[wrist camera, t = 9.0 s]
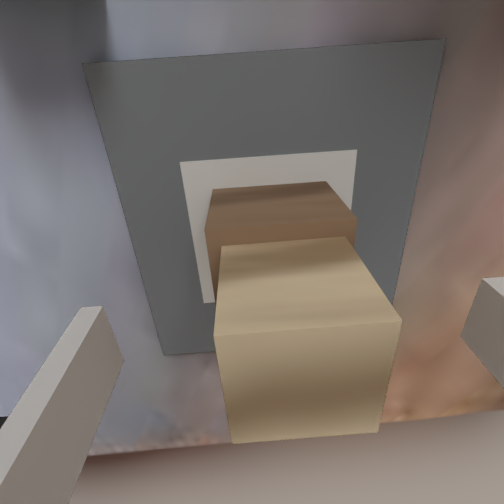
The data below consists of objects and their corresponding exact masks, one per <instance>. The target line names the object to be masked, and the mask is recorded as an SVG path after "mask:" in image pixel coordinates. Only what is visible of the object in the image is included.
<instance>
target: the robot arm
mask: <svg viewBox="0 0 504 504" xmlns="http://www.w3.org/2000/svg"><path fill="white" fill-rule="evenodd" d="M460 337H461V338H462V339H463V340H464V341H465V343H466V344H467V345H468V346H469V347H470V349H471V350H472V351H473V352H474V353H475V355H476V356H477V357H478V358H479V359H480V361H481V362H482V363H483V364H484V365H485V367H486V368H487V369H488V370H489V371H490V373H491V374H492V375H493V376H494V377H495V379H496V380H497V381H498V382H499V383H500V385H501V386H502V387H503V388H504V277H495V278H482V280H481V283H480V285H479V288H478V291H477V293H476V296H475V299H474V301H473V304H472V307H471V309H470V312H469V315H468V317H467V320H466V322H465V325H464V328H463V330H462V333H461V336H460ZM123 362H124V360H123V357H122V354H121V352H120V349H119V347H118V344H117V341H116V339H115V336H114V334H113V331H112V329H111V326H110V323H109V321H108V318H107V316H106V313H105V310H104V308H103V306H94V307H80V309H79V311H78V312H77V314H76V315H75V317H74V318H73V320H72V321H71V323H70V324H69V326H68V327H67V329H66V330H65V332H64V333H63V335H62V336H61V338H60V339H59V341H58V342H57V344H56V345H55V347H54V348H53V350H52V351H51V353H50V354H49V356H48V357H47V359H46V361H45V362H44V364H43V365H42V367H41V368H40V370H39V371H38V373H37V374H36V376H35V377H34V379H33V380H32V382H31V383H30V385H29V386H28V388H27V389H26V391H25V392H24V394H23V395H22V397H21V398H20V400H19V401H18V403H17V404H16V406H15V408H14V409H13V411H12V412H11V414H10V415H9V416H7V417H0V504H68V503H69V500H70V498H71V496H72V493H73V491H74V488H75V485H76V483H77V480H78V478H79V475H80V473H81V470H82V468H83V465H84V462H85V460H86V457H87V455H88V452H89V450H90V447H91V444H92V442H93V439H94V437H95V434H96V432H97V429H98V426H99V424H100V421H101V419H102V416H103V414H104V411H105V408H106V406H107V403H108V401H109V398H110V396H111V393H112V390H113V388H114V385H115V383H116V380H117V378H118V375H119V373H120V370H121V367H122V365H123Z"/></svg>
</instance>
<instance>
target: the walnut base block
mask: <svg viewBox="0 0 504 504" xmlns="http://www.w3.org/2000/svg"><path fill="white" fill-rule="evenodd" d="M356 228H357V217H356V216H355V215H354V214H353V213H352V211H351V210H350V209H349V208H348V207H347V205H346V204H345V203H344V202H343V201H342V200H341V198H340V197H339V196H338V195H337V194H336V192H335V191H334V190H333V189H332V188H331V186H330V185H329V184H328V183H327V182H326V181H320V182H306V183H292V184H278V185H264V186H250V187H236V188H222V189H213V191H212V196H211V200H210V205H209V210H208V214H207V219H206V224H205V229H204V231H205V238H206V245H207V251H208V258H209V265H210V272H211V278H212V285H213V292H214V298H215V305H216V302H217V291H218V280H219V269H220V258H221V247H222V246H229V245H242V244H254V243H267V242H280V241H293V240H306V239H318V238H331V237H344V236H346V238H347V239H348V241H349V242H350V244H351V245H352V247H353V248H354V245H355V237H356Z"/></svg>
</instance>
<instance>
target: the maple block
mask: <svg viewBox="0 0 504 504" xmlns="http://www.w3.org/2000/svg"><path fill="white" fill-rule="evenodd" d="M402 322H403V321H402V319H401V318H400V317H399V315H398V314H397V312H396V311H395V309H394V308H393V306H392V305H391V303H390V302H389V300H388V299H387V297H386V296H385V294H384V293H383V291H382V290H381V288H380V287H379V285H378V284H377V282H376V281H375V279H374V278H373V276H372V275H371V273H370V272H369V271H368V269H367V268H366V266H365V265H364V263H363V262H362V260H361V259H360V257H359V256H358V254H357V253H356V251H355V250H354V248H353V247H352V245H351V244H350V242H349V241H348V239H347V238H346V236H344V237H331V238H318V239H306V240H293V241H280V242H267V243H254V244H242V245H229V246H222V247H221V258H220V269H219V280H218V291H217V302H216V313H215V324H214V335H213V336H214V342H215V348H216V354H217V360H218V366H219V371H220V377H221V383H222V389H223V395H224V401H225V406H226V412H227V418H228V424H229V430H230V435H231V441H232V444H237V443H250V442H262V441H275V440H286V439H300V438H312V437H324V436H336V435H348V434H361V433H374V432H378V429H379V424H380V420H381V415H382V411H383V406H384V402H385V398H386V393H387V389H388V384H389V380H390V375H391V371H392V366H393V362H394V357H395V353H396V348H397V344H398V340H399V335H400V331H401V326H402Z"/></svg>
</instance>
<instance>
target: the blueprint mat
mask: <svg viewBox="0 0 504 504" xmlns="http://www.w3.org/2000/svg"><path fill="white" fill-rule="evenodd" d="M445 43H446V38H445V39H431V40H416V41H402V42H387V43H373V44H358V45H343V46H329V47H314V48H300V49H285V50H271V51H256V52H242V53H227V54H213V55H198V56H183V57H169V58H154V59H140V60H125V61H111V62H96V63H82V66H83V69H84V73H85V76H86V80H87V84H88V87H89V91H90V94H91V98H92V101H93V105H94V109H95V112H96V116H97V119H98V123H99V126H100V130H101V133H102V137H103V141H104V144H105V148H106V151H107V155H108V158H109V162H110V165H111V169H112V173H113V176H114V180H115V183H116V187H117V190H118V194H119V198H120V201H121V205H122V208H123V212H124V215H125V219H126V222H127V226H128V230H129V233H130V237H131V240H132V244H133V247H134V251H135V255H136V258H137V262H138V265H139V269H140V272H141V276H142V279H143V283H144V287H145V290H146V294H147V297H148V301H149V304H150V308H151V312H152V315H153V319H154V322H155V326H156V329H157V333H158V336H159V340H160V344H161V347H162V351H163V354H164V355H175V354H188V353H201V352H215V351H216V348H215V342H214V336H213V335H214V324H215V313H216V305H215V298H214V292H213V285H212V278H211V272H210V265H209V258H208V251H207V245H206V238H205V231H204V229H205V224H206V219H207V214H208V210H209V205H210V200H211V196H212V191H213V189H222V188H236V187H250V186H264V185H278V184H292V183H306V182H320V181H326V182H327V183H328V184H329V185H330V186H331V188H332V189H333V190H334V191H335V192H336V194H337V195H338V196H339V197H340V198H341V200H342V201H343V202H344V203H345V204H346V205H347V207H348V208H349V209H350V210H351V211H352V213H353V214H354V215H355V216H356V217H357V228H356V237H355V245H354V250H355V251H356V253H357V254H358V256H359V257H360V259H361V260H362V262H363V263H364V265H365V266H366V268H367V269H368V271H369V272H370V273H371V275H372V276H373V278H374V279H375V281H376V282H377V284H378V285H379V287H380V288H381V290H382V291H383V293H384V294H385V296H386V297H387V299H388V300H389V302H390V303H391V305H392V304H393V299H394V294H395V289H396V284H397V279H398V274H399V269H400V264H401V260H402V255H403V250H404V245H405V240H406V235H407V230H408V225H409V220H410V215H411V210H412V205H413V201H414V196H415V191H416V186H417V181H418V176H419V171H420V166H421V161H422V156H423V151H424V146H425V142H426V137H427V132H428V127H429V122H430V117H431V112H432V107H433V102H434V97H435V92H436V88H437V83H438V78H439V73H440V68H441V63H442V58H443V53H444V48H445Z"/></svg>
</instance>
